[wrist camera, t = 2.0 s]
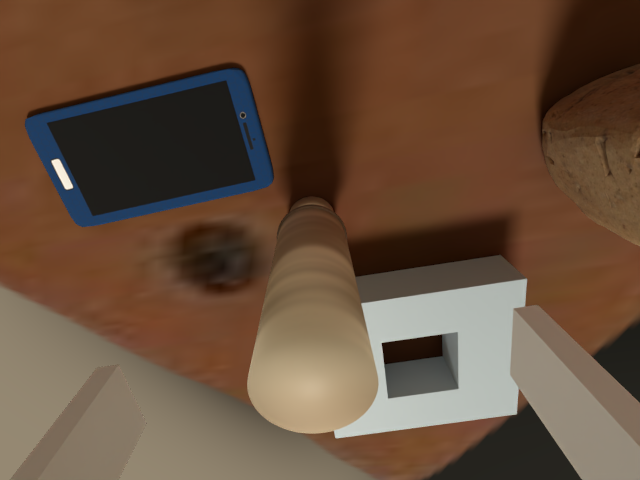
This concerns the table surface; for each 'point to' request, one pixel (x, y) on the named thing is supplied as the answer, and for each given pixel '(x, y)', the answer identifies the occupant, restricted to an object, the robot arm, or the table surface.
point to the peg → (312, 329)
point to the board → (457, 343)
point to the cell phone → (154, 148)
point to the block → (599, 150)
